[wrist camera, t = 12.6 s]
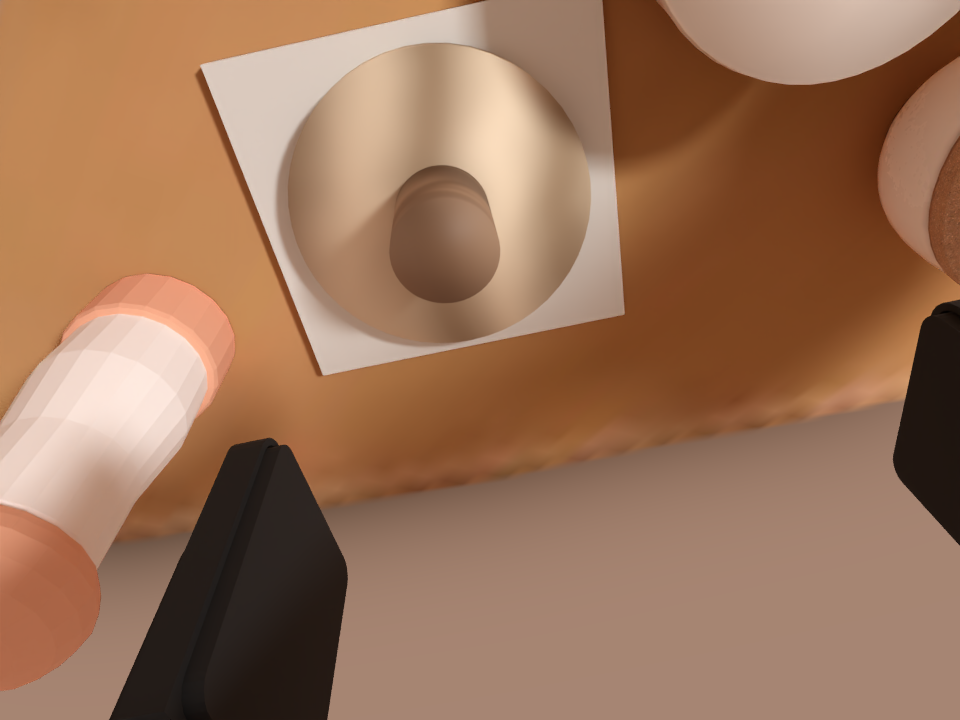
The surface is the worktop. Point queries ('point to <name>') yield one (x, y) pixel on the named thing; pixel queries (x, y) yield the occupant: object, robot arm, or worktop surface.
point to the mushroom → (806, 34)
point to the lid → (439, 193)
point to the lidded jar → (926, 171)
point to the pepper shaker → (94, 454)
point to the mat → (324, 61)
